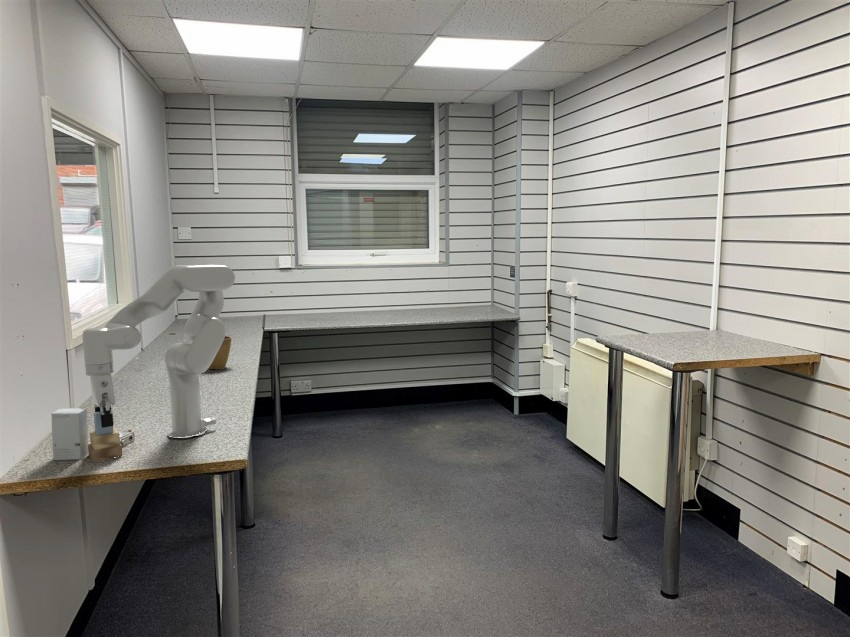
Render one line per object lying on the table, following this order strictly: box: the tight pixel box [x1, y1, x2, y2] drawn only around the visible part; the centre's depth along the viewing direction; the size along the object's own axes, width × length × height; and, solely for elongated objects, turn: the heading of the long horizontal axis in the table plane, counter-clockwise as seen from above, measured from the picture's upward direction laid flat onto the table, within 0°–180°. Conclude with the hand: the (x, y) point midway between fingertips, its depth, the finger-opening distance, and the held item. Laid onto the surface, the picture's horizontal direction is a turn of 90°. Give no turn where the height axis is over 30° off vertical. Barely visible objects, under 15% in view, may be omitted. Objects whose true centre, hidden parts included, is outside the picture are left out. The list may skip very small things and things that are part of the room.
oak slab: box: [89, 426, 121, 450], centre depth 183 cm, size 7×7×4 cm
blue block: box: [93, 411, 114, 435], centre depth 183 cm, size 4×4×6 cm
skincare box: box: [51, 407, 89, 461], centre depth 182 cm, size 8×6×15 cm
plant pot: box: [208, 335, 232, 370], centre depth 305 cm, size 15×15×16 cm
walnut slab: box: [88, 443, 123, 464], centre depth 184 cm, size 8×8×4 cm
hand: (104, 422), depth 183 cm, fingers open, 9 cm apart
